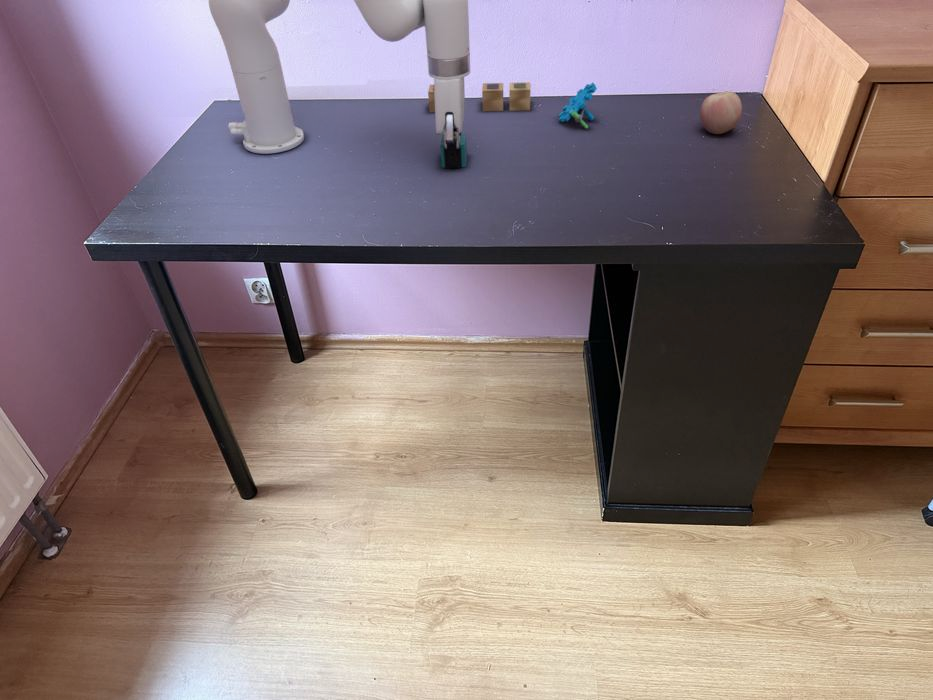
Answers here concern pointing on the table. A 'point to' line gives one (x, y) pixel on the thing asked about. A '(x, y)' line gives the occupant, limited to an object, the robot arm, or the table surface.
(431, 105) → the beech block
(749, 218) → the table surface
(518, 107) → the beech block
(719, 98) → the apple
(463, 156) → the teal block
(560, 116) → the blue flower
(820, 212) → the table surface
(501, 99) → the beech block
